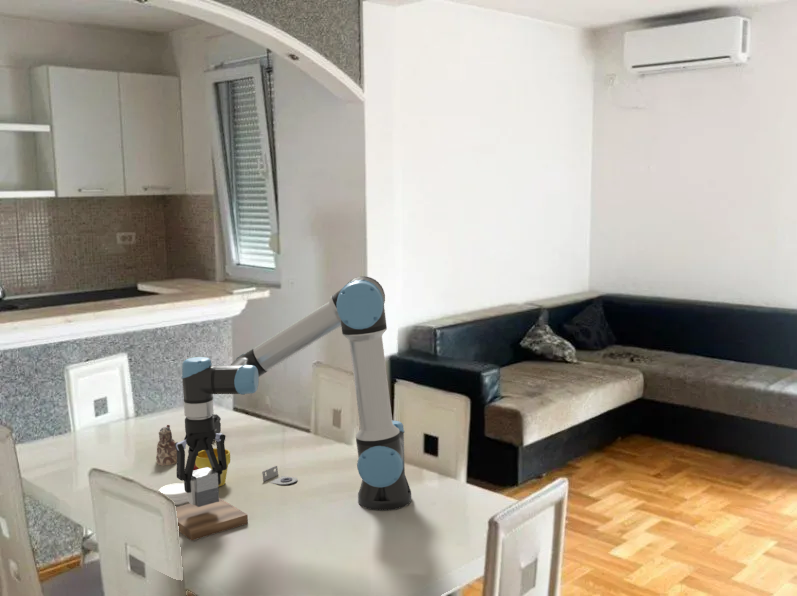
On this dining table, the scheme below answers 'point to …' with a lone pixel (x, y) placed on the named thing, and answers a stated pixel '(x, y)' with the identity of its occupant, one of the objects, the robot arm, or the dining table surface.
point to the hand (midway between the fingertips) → (203, 499)
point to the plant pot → (204, 462)
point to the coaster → (175, 493)
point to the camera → (217, 423)
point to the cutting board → (208, 519)
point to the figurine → (166, 448)
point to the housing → (205, 486)
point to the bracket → (280, 481)
